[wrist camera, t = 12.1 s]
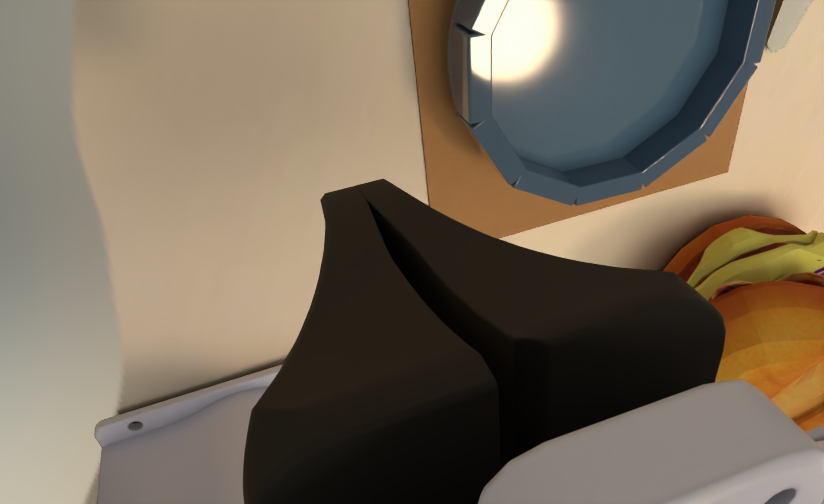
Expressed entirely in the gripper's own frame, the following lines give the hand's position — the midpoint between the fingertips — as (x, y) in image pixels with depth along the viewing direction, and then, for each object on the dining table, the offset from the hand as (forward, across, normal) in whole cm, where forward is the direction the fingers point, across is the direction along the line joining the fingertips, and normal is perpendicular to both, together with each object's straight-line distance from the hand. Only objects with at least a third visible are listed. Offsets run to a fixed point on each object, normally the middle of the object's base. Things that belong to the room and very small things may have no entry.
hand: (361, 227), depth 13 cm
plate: (+9, -10, 0) cm, 14 cm away
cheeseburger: (+9, -18, +15) cm, 25 cm away
